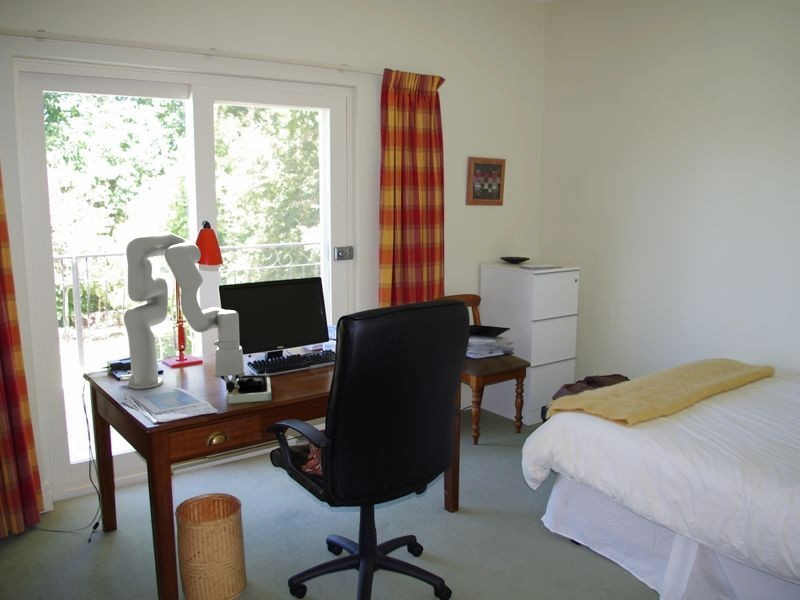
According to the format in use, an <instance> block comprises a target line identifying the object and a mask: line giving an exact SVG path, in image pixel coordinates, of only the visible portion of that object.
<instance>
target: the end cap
mask: <svg viewBox="0 0 800 600" xmlns="http://www.w3.org/2000/svg"><path fill="white" fill-rule="evenodd" d="M267 377H268V376H266V375H265V374H263V375H261V374H258V375H257V374H251V375H250V374H249V375H248V374H245V376H242V377H239V378H238V379H239V380H238V382H237V385H239V387H237V394H247V393H260V392H267Z"/></svg>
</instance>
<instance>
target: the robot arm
mask: <svg viewBox="0 0 800 600" xmlns="http://www.w3.org/2000/svg"><path fill="white" fill-rule="evenodd" d="M125 251H126V253H125V254H126V260H127V261H126V262H127V293H128V298H129V299H130V300H131V301H133V302H135V303H138V304H135V305H133V306H130V307H128V309H127V310H126V311H125V312H124V315H123V321H124V326H125V329H126V332H127V336H128V347H129V359H130V370H131V373H128V374H126V375H125V374H120V376H119V377H120V378H119V380H120V381H122V382H128V383H127V384H128V387H129V388H130V389H133V390H134V389H136V390H145V389H146V390H147V389H153V388H156V387H159V386H160V385H162V384H163V381H164V380H163V378H162V377H159V371H158V358H157V357H158V356H157V355H158V354H157V346H156V345H157V344H156V338H155V335H154V333H153V331H152V329H151V327H154V326H156V325H160V324H161V323H164V322H165V321H166V319H167V317H168V313H169V312H168V301H169V290H168V283H167V281H166V278H165V277H163V276H162V275H161V274H159V273H153V265H152V262H151V260H150V258H151V257H152V258H154V257H157V256H159V257H160V256H164V259H165V261H166V263H167V265H168V268H169V269H170V272H171V273H172V274H173V277H174V279H175V280H176V282H177V285H178V286H179V288H180V307H181V312H182V313H183V315H184V318H185V320H186V322H187V323H188V325H189V327H190V328H191V329H192V330H193V331H195V333H196V332H197V333H205V332H206V333H207V332H208V331H210V330H211V331H212V329H213V330H214V329H217V340H216V341H214V342H213V346H217V347H216V349H215V358H214V361H215V362H214V370H215V371H214V372H215V374H214V377H215V378H216V379H217V378H218V379H222V380H223V381H224V382H225V388H226V389H225V390H226V391H227V392H228V394H230V393H232V394H233V393H234V391H235V389H236V388H235V383H234V382H235V381H236V380H237V379H239V377H242V376H245V375H246V373H245V361H244V360H245V359H244V353H243V348H242V346H241V345H240V319H239V318H240V317H239V312H238V311H236V310H231V309H223V308H220V307H217V306H216V307H215V306H213V307H212V306H211V307H209V308H206V309H203V310H202V308H201V306H200V305H199V303H198V298H197V296H198V295H197V294H198V291H199V288H200V287H201V285H202V284H203V281H204V279H203V277H202V275H201V273H200V271H199V270H198V267H197V265H196V264H197V263H198V262H199V261H200V259H201V256H202V254H201V250H200V249H199V247H198V246H197V245H196V244H195V243H194V242H192V241H190V240H188V239H186V238H183V237H181V236H179V235H177V234H174V233H172V232H169V231H160V232H159V231H158V232H152V233H146V234H141V235H140V234H139V235H138V236H135V237H133V238H131V239H130V240H129V241H128V243H127V246H126V250H125ZM145 301H146V302H145ZM230 376H231V378H229V377H230ZM230 380H231V381H230Z"/></svg>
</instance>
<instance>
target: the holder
mask: <svg viewBox="0 0 800 600" xmlns="http://www.w3.org/2000/svg"><path fill="white" fill-rule="evenodd" d="M266 377H267V389H266V391H265V392H260V393H247V394H239V393H236V394H228V395H227V402H228V404H240V403H251V402H252V403H253V402H263V401H264V402H265V401H272V388H271V378H270V376H266ZM238 380H239V378H238V379H237V380H236V381H235V382H234V383H235V389H236V388H239V385H237V382H238ZM230 381H231V379H230Z"/></svg>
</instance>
